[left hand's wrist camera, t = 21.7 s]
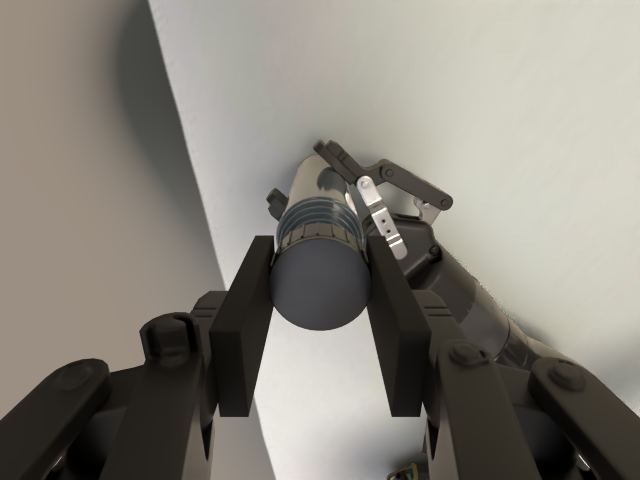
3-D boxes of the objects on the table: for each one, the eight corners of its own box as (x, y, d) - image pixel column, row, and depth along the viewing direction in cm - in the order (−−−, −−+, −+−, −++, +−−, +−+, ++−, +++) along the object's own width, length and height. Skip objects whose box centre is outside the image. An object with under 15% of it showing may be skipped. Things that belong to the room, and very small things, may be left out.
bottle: (292, 157, 32) (253, 231, 13) (341, 150, 31) (371, 217, 13) (299, 204, 33) (274, 329, 15) (346, 198, 33) (379, 318, 15)
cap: (261, 292, 15) (254, 315, 13) (288, 207, 14) (284, 222, 12) (347, 317, 16) (350, 343, 14) (382, 238, 14) (390, 256, 13)
